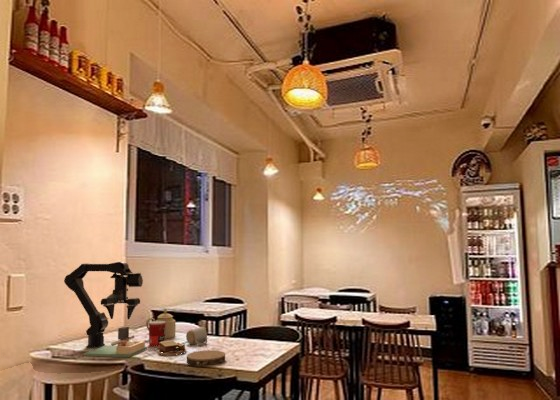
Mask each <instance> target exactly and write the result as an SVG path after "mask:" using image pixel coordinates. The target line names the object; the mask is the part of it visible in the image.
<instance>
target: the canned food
mask: <svg viewBox="0 0 560 400" xmlns="http://www.w3.org/2000/svg"><path fill="white" fill-rule="evenodd" d="M148 326H149V330H148V345H149V346H150V347H159V342H162V341H166V339H165V321H156V320H155V321H153V320H152V321H149V322H148Z"/></svg>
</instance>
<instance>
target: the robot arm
mask: <svg viewBox="0 0 560 400" xmlns="http://www.w3.org/2000/svg"><path fill="white" fill-rule="evenodd" d="M88 272H108V273H112V275H111V276H110V279H114V289H112V292H111V294H109V295H108V296H107V297H106V298H101V300H100V305H101V306H103V307H105V309H106V310H107V312H108V315H109V318H110V319H111V320H112V319H114V315H115V314H114V313H115V306H116V305H117V304H127V305H126V309H127V320H130V319H131V317H132V314H133V312H134V310H135V308H136V307H138V305H139V304H141V299H140V297H132V298H129V297H128V295H127V293H128V291H129V288H141V287H142V286H143V283H144V279H143V276H142V273H141V272H137V273H135V272H134V273H133V272H132V270H131V269H130V267H129V264H128V263H127V262H126V261H117V262H112V263H81V264H80V265H79V266H78V267H76V268H75V269H74V270H73V271H71V272H70V273H69V274H66V276H65V277H64V281H63V282H64V284H65V286H66V287H68V289H69V290H71V291H72V292H74V294H75V296H76V297H77V299H78V300H79V302H80V304H81V305H82V307H83V309H84V311H85V312H86V314H87V316H88V319H89V325H90V326H89V327H88V329H86V330H85V331H86V332H85V333H86V335H87V345H86V346H87V347H86V348H95V347H97V348H100V347H103V346H106V345H105V343H104V341H105V339H104V338H105V336H104V332H105V330H106V328H108V326H109V321H108V320H109V318H108V317H107V316H106V313H105V312H100V311H99V310H98V309H97V307H96V306H95V304H94V301H93V300H92V299H91V297H90V296H89V294H88V292H87V291H86V288H85V287H84V285H85V284H84V280H83V279H84V278H85V277H86V275H87V273H88ZM128 287H129V288H128Z"/></svg>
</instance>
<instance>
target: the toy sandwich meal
mask: <svg viewBox="0 0 560 400" xmlns="http://www.w3.org/2000/svg"><path fill="white" fill-rule="evenodd" d="M157 350H158V351H157V352H158V354H159V355H160V354H162V355H161V356H163V355H175V356H177V355H176V354H181V353H183V354H185V353H186V352H187V348H186V344H185V343H184V344H181V343H180V342H176V341H174V340H165V341H162V342H159V346H157ZM161 352H163V353H161ZM184 352H185V353H184ZM181 355H182V354H181Z"/></svg>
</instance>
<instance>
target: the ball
mask: <svg viewBox="0 0 560 400" xmlns="http://www.w3.org/2000/svg"><path fill="white" fill-rule="evenodd" d="M133 341H134V340H129V341H128V342H126V344H125V346H131V345H134V344H135V343H134V342H133Z"/></svg>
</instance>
